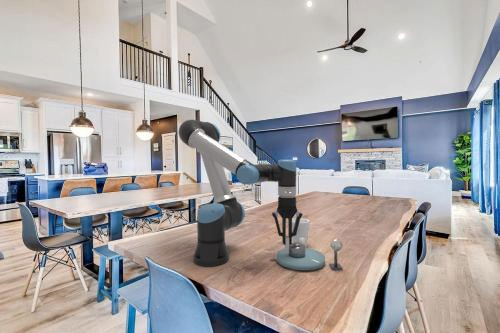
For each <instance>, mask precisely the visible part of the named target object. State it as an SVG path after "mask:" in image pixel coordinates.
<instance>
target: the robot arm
mask: <svg viewBox="0 0 500 333" xmlns="http://www.w3.org/2000/svg"><path fill="white" fill-rule="evenodd" d="M178 136H179V139H180V140H181V141H182V142H183V144H185V145H186V146H188V147H189V148H191V149H192V150H193V149H195V150H196V152H197V153H199V154H200V155H201V159H202V162H203V165H204V169H205V171H206V174H207V179H208V182H209V186H210V189H211V192H212V195H213V199H214V201H213V203H210V204H209V203H207V204H204V205H201V206H200V207H199V208H198V209H197V213H196V214H197V215H196V221H197V222H196V224H197V226H196V227H197V244H196V247H195V251H194V253H193V263H194V264H196V265H197V266H200V267H218V266H221V265H223V264H226V263H227V262H228V261H229V259H230V254H229V252H230V251H229V250H228V247H227V243H226V231H228V230H230V229H234V228H236V227H238V226H240V225H241V224H242V222H243V221H244V219H245V215H246V212H245V207H244V205H243V204H242V203H240V202H238V199H237V196H235V194H232V191H231V188H230V184H229V181H228V178H227V174H226V172H225V169H226V170H227V171H229V172H230V173H232V174H234V175H235V176H236V178H237V179H238V180H237V181H239V183H240V184H242V185H244V186H245V185H247V186H248V185H249V186H250V185H254V184H258V183H264V182H275V183H277V195H278V197H277V209H276V210H275V211H274V212H271V216H272V217H273V219H274V223H275V226H276V229H277V230H276V231H277V234H278V236H279V237H282V238H281V239H282V245H283V246H284V249H285V253H289V245H291V244H292V243H293V239H292V237H293V236H296V234H297V230H298V226H299V222H300V218H303V216H304V215H303V213H302V212H301V211H299V210H298V208H297V197H296V196H297V163H296V162H297V161H296V159H278V161H277V163H275V164H271V163H269V164H268V163H255V164H253V163H252V162H251V161H249V160H248V159H246V158H244V157H243V156H241V155H239V154H238V153H236V152H235V151H233V150H231V149H230V148H228V147H226V146H225V145H224V144H222V143H220V141H221V139H220V138H221V132H220V129H219V127H218V126H216V124H214V123H212V122H209V121H202V120H196V119H187V120H185V121H183V122H181V124H180V126H179V128H178ZM295 215H296V221H295V225H294V229H293V232H292V219H294V217H295ZM278 216H280V217H281V220H282V221H281V223H282V225H281V227H280V223H279V219H278ZM287 220H288V223H287ZM287 224H288V226H287ZM286 227H288V235H287V234H286V233H287V232H286V230H287V228H286ZM281 228H282V230H281Z"/></svg>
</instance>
